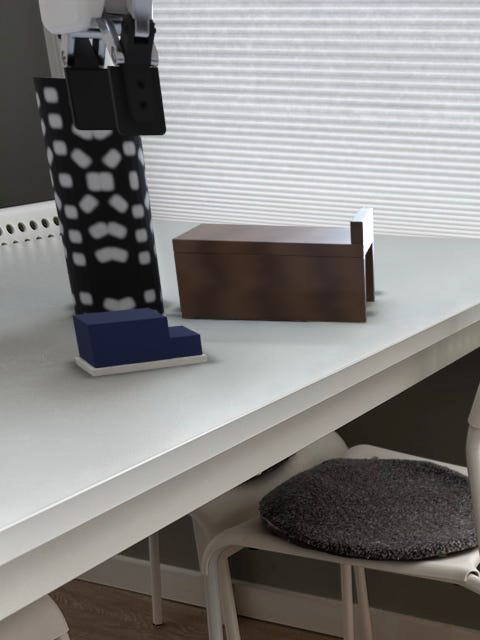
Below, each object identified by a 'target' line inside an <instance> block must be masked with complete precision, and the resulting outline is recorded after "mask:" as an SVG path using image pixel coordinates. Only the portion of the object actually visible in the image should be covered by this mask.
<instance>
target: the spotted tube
mask: <svg viewBox="0 0 480 640" xmlns="http://www.w3.org/2000/svg"><path fill="white" fill-rule="evenodd" d="M32 80H33V87H34V91H35V97H36V103H37V108H38V114H39V120H40V125H41V131H42V135H43V136H42V137H43V142H44V147H45V152H46V159H47V163H48V169H49V170H48V171H49V176H50V180H51V181H50V182H51V187H52V193H53V198H54V204H55V207H56V214H57V219H58V226H59V232H60V236H61V242H62V248H63V253H64V258H65V264H66V269H67V274H68V281H69V287H70V292H71V297H72V298H71V299H72V303H73V308H74V315H78V314H88V313H99V312H109V311H120V310H130V309H141V308H150V309H152V310H154V311H156V312H158V313H160V314H162V315H164V314H165V306H164V297H163V290H162V282H161V275H160V267H159V260H158V252H157V244H156V237H155V231H154V223H153V215H152V208H151V201H150V194H149V193H150V192H149V186H148V178H147V171H146V170H147V169H146V163H145V156H144V147H143V142H142V136H124V135H121V134H119V133H118V131H117V130H77V129H76V128H75V127H74V124H73V118H72V113H71V107H70V101H69V96H68V90H67V84H66V79H65V77H51V76H49V77H47V76H45V77H44V76H32Z"/></svg>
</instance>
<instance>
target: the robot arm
mask: <svg viewBox="0 0 480 640" xmlns="http://www.w3.org/2000/svg"><path fill="white" fill-rule="evenodd" d="M38 6H39V12H40V18H41V23H42V25H43V26H44V28H45V29H46V30H47V31H48V32H50V34H52V35H56V36H57V38H58V40H59V41H60V58H61V62H62V65H63V73H64V78H65V79H66V84H67V90H68V96H69V101H70V107H71V113H72V118H73V124H74V127H75V128H76V129H77V130H117V131H118V133H119V134H121V135H124V136H141V137H142V136H143V137H145V136H148V137H149V136H150V137H151V136H153V137H154V136H164V135H166V133H167V123H166V117H165V109H164V108H165V107H164V101H163V95H162V94H163V93H162V86H161V80H160V73H159V72H160V71H159V67H158V66H159V62H160V61H159V53H158V50H157V47H156V44H155V35H156V33H157V28H156V23H155V22H154V7H153V0H38ZM91 41H92V42H91ZM106 50H107V52H108V54H109V57H110V60H111V62H112V64H113V65H107V66H106V67H105V63H106Z"/></svg>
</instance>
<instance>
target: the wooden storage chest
mask: <svg viewBox="0 0 480 640" xmlns="http://www.w3.org/2000/svg"><path fill="white" fill-rule="evenodd" d="M373 209H374V208H373V207H366V206H365V207H363V206H362V207H360V209H359V210H358V211H357V212H356V214H355V215H354V216H353V217H352V218H351V220H349V227H342V226H341V227H337V226H307V225H306V226H304V225H302V226H301V225H272V224H271V225H270V224H268V225H267V224H266V225H265V224H235V223H234V224H233V223H230V224H229V223H200V224H198V225H196V226H194V227H192V228H191V229H189V230H187V231H185V232H183V233H181V234H179V235H178V236H175V237H174V238H172V239H171V243H172V251H173V258H174V267H175V274H176V282H177V291H178V300H179V306H180V314H181V318H182V319H202V320H203V319H204V320H209V319H210V320H243V321H244V320H245V321H281V322H282V321H283V322H286V321H287V322H317V323H318V322H319V323H321V322H323V323H324V322H325V323H359V324H361V323H363V324H364V323H365V324H366V323H367V321H368V314H367V313H368V311H367V302H375V300H376V287H375V286H376V284H375V283H376V281H375V253H374V252H375V246H374V245H375V244H374V214H373V213H374V211H373Z"/></svg>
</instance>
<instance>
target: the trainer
mask: <svg viewBox="0 0 480 640" xmlns="http://www.w3.org/2000/svg"><path fill="white" fill-rule="evenodd" d="M71 317H72V322H73V328H74V334H75V339H76V345H77V350H78V356H76V357H75V358H74V359H75V365H77V366H79V368H81V369H83V370H84V371H85V372H86V373H88V374H89V375H90V376H92V377H100V376H108V375H109V376H110V375H117V374H125V373H132V372H138V371H139V372H140V371H147V370H155V369H162V368H171V367H177V366H185V365H193V364H194V365H195V364H201V363H207V362H208V356H207V354H205V353H203V347H202V345H203V344H202V337H201V336H202V335H201V333H198V332H196V331H195V330H192V329H191V328H188V327H187V326H185V325H183V324H182V325H173V326H169V320H168V317H167V316H166V315H164V314H163V315H162V314H160V313H158V312H156V311H154V310H152V309H150V308H141V309H130V310H120V311H109V312H99V313H88V314H78V315H75V314H72V316H71Z"/></svg>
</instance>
